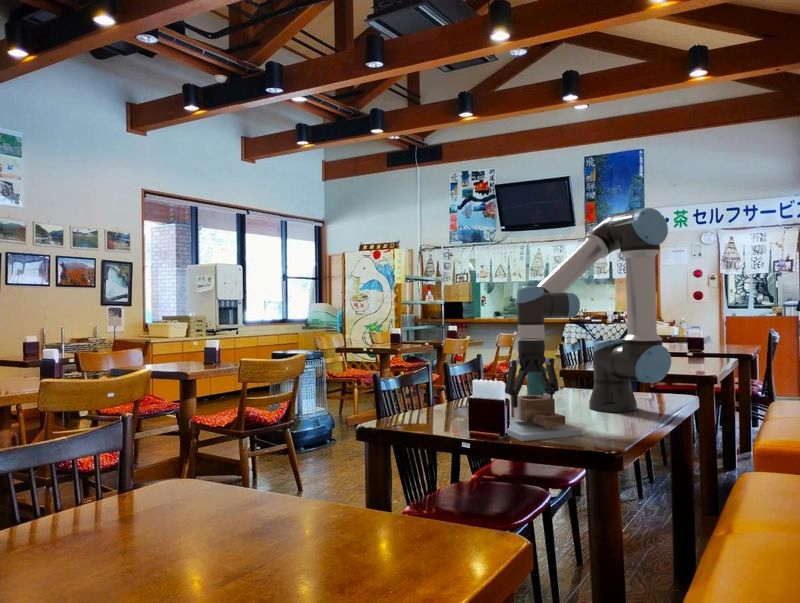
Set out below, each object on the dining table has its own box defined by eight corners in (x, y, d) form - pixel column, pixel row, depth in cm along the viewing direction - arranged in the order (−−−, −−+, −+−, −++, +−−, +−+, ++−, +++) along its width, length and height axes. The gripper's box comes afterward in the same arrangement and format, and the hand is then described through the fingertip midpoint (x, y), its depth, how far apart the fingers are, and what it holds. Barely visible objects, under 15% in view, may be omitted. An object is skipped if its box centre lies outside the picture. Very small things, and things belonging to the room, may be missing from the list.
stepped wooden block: (511, 416, 180) (511, 396, 180) (538, 414, 182) (538, 394, 182) (540, 427, 164) (540, 405, 164) (570, 425, 167) (569, 402, 167)
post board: (544, 422, 184) (543, 401, 184) (581, 435, 166) (580, 411, 166) (490, 427, 179) (489, 405, 179) (522, 441, 161) (521, 416, 161)
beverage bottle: (547, 417, 193) (545, 353, 193) (550, 421, 186) (548, 355, 186) (525, 417, 193) (524, 354, 193) (528, 421, 187) (526, 355, 187)
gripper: (556, 337, 184) (558, 412, 184) (491, 340, 177) (492, 418, 177) (571, 338, 177) (572, 417, 176) (503, 341, 170) (504, 422, 170)
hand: (532, 417), depth 177 cm, fingers closed on stepped wooden block, 9 cm apart
